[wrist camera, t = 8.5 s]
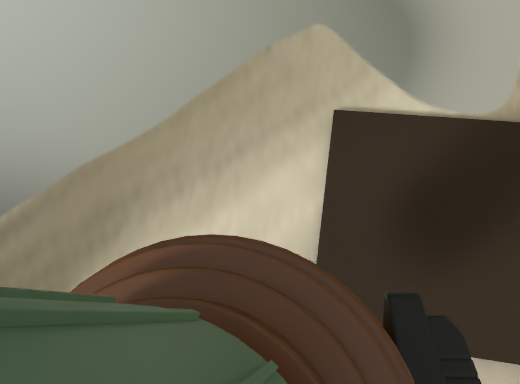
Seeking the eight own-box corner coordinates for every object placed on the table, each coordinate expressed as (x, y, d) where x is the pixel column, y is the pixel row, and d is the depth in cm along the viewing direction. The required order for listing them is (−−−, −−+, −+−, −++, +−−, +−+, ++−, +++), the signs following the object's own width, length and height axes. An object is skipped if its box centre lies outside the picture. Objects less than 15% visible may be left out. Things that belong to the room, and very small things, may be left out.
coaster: (309, 330, 31) (308, 331, 30) (334, 113, 34) (334, 109, 33) (568, 371, 28) (575, 373, 27) (565, 129, 31) (571, 125, 31)
